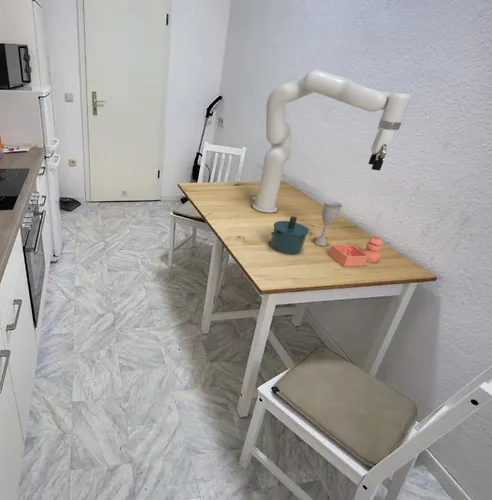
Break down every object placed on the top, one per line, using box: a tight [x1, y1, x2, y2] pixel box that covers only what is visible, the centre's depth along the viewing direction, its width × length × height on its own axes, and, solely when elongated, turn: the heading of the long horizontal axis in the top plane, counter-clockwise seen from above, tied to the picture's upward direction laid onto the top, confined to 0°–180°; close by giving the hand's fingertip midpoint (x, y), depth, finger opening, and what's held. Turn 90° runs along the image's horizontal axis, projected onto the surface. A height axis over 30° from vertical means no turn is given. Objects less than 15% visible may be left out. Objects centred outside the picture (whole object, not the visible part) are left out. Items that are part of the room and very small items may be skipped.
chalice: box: [314, 199, 343, 246], centre depth 151 cm, size 7×7×18 cm
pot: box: [269, 227, 309, 255], centre depth 148 cm, size 12×18×8 cm
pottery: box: [328, 235, 384, 267], centre depth 141 cm, size 18×10×10 cm, turn 99°
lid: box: [273, 215, 310, 236], centre depth 145 cm, size 13×13×6 cm
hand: (373, 167), depth 156 cm, fingers open, 9 cm apart
